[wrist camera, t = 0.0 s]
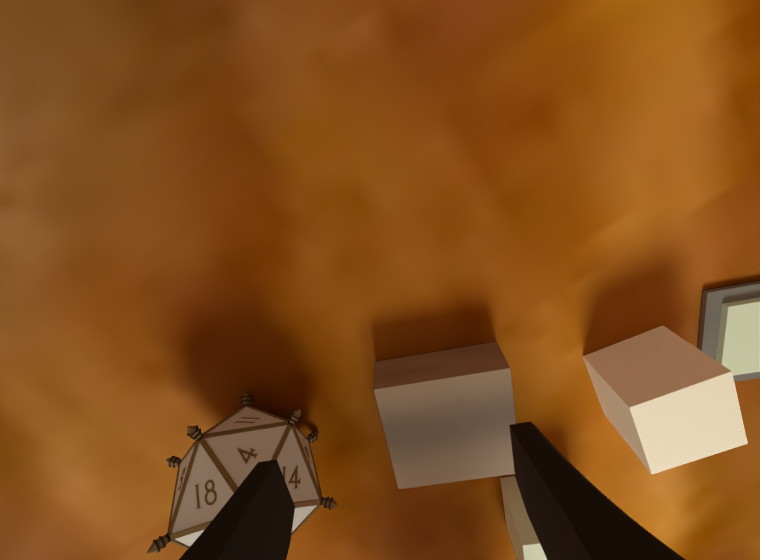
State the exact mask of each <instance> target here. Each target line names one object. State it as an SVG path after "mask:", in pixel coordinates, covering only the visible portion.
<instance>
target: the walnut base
mask: <svg viewBox="0 0 760 560" xmlns="http://www.w3.org/2000/svg"><path fill="white" fill-rule="evenodd" d="M374 393H375V397H376V401H377V405H378V409H379V413H380V417H381V421H382V425H383V429H384V433H385V437H386V441H387V445H388V449H389V453H390V457H391V461H392V465H393V469H394V473H395V477H396V481H397V485H398V489H406V488H413V487H421V486H428V485H436V484H443V483H451V482H458V481H466V480H473V479H481V478H488V477H496V476H503V475H511V474H515V471H514V462H513V453H512V444H511V436H510V427H509V425H512V424H516V419H515V409H514V399H513V389H512V379H511V369H510V367H509V365H508V363H507V361H506V359H505V357H504V355H503V354H502V352H501V350H500V348H499V346H498V344H497V342H491V343H485V344H479V345H473V346H467V347H461V348H455V349H449V350H443V351H437V352H431V353H425V354H419V355H413V356H407V357H401V358H395V359H389V360H383V361H377V362H375V376H374Z"/></svg>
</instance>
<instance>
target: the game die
mask: <svg viewBox="0 0 760 560" xmlns="http://www.w3.org/2000/svg"><path fill="white" fill-rule="evenodd" d="M250 398H251V396H249V395H248V394H247V392H245V393H244V395H243V396H242V397H241V399H242V401H241V403H242V404H243V407H242V408H240V409H239V410H237V411H236V412H234V413H233V414H231V415H230V416H228V417H227V418H225V419H224V420H222V421H221V422H219V423H218V424H216V425H215V426H213V427H212V428H210V429H209V430H207V431H206V432H204V433H203V434H202V433H201V429H199V428H198V425H197V426H187V430H188V433H187V435H188V436H190V437H191V438H192V439H196V441H195V442H194V443H193V445H192V446H191V448H190V449H189V450H188V452H187V453H186V455H185V456H184V457H183V459H182V460H180V458H178V457H175V456H172V457H171V458H168V459H166V460H167V462H168V463H169V467H171V466H173V468H174V467H177V466H178V473H177V479H176V485H175V491H174V497H173V503H172V509H171V515H170V520H169V526H168V532H167V534H166V535H165V536H162V537H161V536H159V538H158V539H157V540H153V543H152V545H151V547H150V548H149V550H148V552H147V553H152V552H159V551H160V549H162V548H164V547H166V544H167V543H168V542H170V541H171V542H173V543H175V544H177V545H179V546H181V547H184V548H186V549H189V547H190V546H191V545H192V544H193V543H194V542H195V540H196V539H197V538H198V537H199V536H200V535H201V533H202V532H203V531H204V530H205V529H206V528H207V526H208V525H209V524H210V523H211V521H212V520H213V519H214V518H215V516H216V515H217V514H218V513H219V511H220V510H221V509H222V508H223V506H224V505H225V504H226V503H227V501H228V500H229V499H230V498H231V496H232V495H233V494H234V492H235V491H236V490H237V489H238V487H239V486H240V485H241V483H242V482H243V481H244V479H245V478H246V477H247V476H248V474H249V473H250V472H251V471H252V469H253V468H254V467H255V466H256V464H257V463H258V462H262V461H269V460H276V459H277V461H278V464H279V466H280V469H281V472H282V474H283V477H284V479H285V482H286V484H287V487H288V490H289V492H290V495H291V497H292V500H293V503H294V505H295V511H294V519H293V527H292V533H291V537H292V536H293V534H294V533H295V532H296V531H297V530H298V529H299V528H300V527H301V526H302V525H303V524H304V522H305V521H306V520H307V519H308V518H309V517H310V516H311V515H312V514H313V513H314V512H315V510H316V509H317V508H318V507H319V506H320V505H323V506H324V508H329V509H330V510H331V508H334V507H337V506H338V505H337V503H336V502H335V501H334V499H333V497H332V498H329V497H327V498H323V497H322V493H321V489H320V485H319V480H318V476H317V472H316V468H315V463H314V459H313V455H312V450H311V446H310V442H314V441H315V440H317V436H318V433H316V432H312V433H311V434H310V435H308V437H306V436H305V435H304V434H303V433H302V432H301V431H300V430H299V429H298V428H297V427H296V426H295V425H294V423H296V422H297V421H298V420H299V419H300V418H301V409H300V410H297V411H292V414H291V415H289V417H290V418H289V420H287V419H285V418H282V417H279V416H276V415H273V414H271V413H268V412H265V411H262V410H260V409H257V408H254V407H251V406H249V403H250V401H251V400H250Z"/></svg>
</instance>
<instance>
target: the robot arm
mask: <svg viewBox="0 0 760 560" xmlns="http://www.w3.org/2000/svg"><path fill="white" fill-rule="evenodd" d="M509 427H510V436H511V444H512V453H513V462H514V471H515V478H516V481H517V484H518V487H519V490H520V494H521V497H522V500H523V503H524V506H525V509H526V512H527V514H528V517H529V519H530V521H531V524H532V526H533V528H534V531H535V533H536V535H537V538H538V540H539V542H540V545H541V547H542V549H543V551H544V554H545V556H546V558H547V560H685V559H684V558H683V557H681V556H680V555H679V554H677V553H676V552H675V551H673V550H672V549H670V548H669V547H668V546H666V545H665V544H664V543H662V542H661V541H660V540H658V539H657V538H656V537H655V536H653V535H652V534H651V533H649V532H648V531H647V530H645V529H644V528H643V527H642V526H640V525H639V524H638V523H637V522H635V521H634V520H633V519H632V518H631V517H629V516H628V515H627V514H626V513H625V512H623V511H622V510H621V509H620V508H619V507H617V506H616V505H615V504H614V503H613V502H612V501H611V500H609V499H608V498H607V497H606V496H605V495H604V494H603V493H601V492H600V491H599V490H598V489H597V488H596V487H595V486H594V485H593V484H592V483H590V482H589V481H588V480H587V479H586V478H585V477H584V476H583V475H582V474H581V473H580V472H579V471H578V470H577V469H576V468H575V467H574V466H573V465H572V464H571V463H570V462H569V461H568V460H567V459H566V458H565V457H564V456H563V455H562V454H561V453H560V452H559V451H558V450H557V449H556V448H555V447H554V446H553V445H552V444H551V443H550V442H549V441H548V439H547V438H546V437H545V436H544V435H543V434H542V433H541V432H540V431H539V429H538V428H537V427H536V426H535V425H534V424H533V423H531V422H525V423H519V424H512V425H509ZM294 511H295V505H294V503H293V500H292V497H291V495H290V492H289V490H288V487H287V484H286V482H285V479H284V477H283V474H282V472H281V469H280V466H279V464H278V461H277V459H276V460H269V461H262V462H258V463H257V464H256V466H255V467H254V468H253V469H252V471H251V472H250V473H249V474H248V476H247V477H246V478H245V479H244V481H243V482H242V483H241V485H240V486H239V487H238V489H237V490H236V491H235V492H234V494H233V495H232V496H231V498H230V499H229V500H228V501H227V503H226V504H225V505H224V506H223V508H222V509H221V510H220V511H219V513H218V514H217V515H216V516H215V518H214V519H213V520H212V521H211V523H210V524H209V525H208V526H207V528H206V529H205V530H204V531H203V532H202V533H201V535H200V536H199V537H198V538H197V539H196V540H195V542H194V543H193V544H192V545H191V546H190V547H189V549H188V550H187V551H186V552H185V553H184V554H183V556H182V557H181V558H180V559H179V560H286V557H287V554H288V549H289V545H290V540H291V533H292V527H293V519H294Z"/></svg>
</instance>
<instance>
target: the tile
mask: <svg viewBox="0 0 760 560" xmlns="http://www.w3.org/2000/svg"><path fill="white" fill-rule="evenodd" d="M698 349H699V350H701V351H702V352H704V353H705V354H707V355H708V356H710V357H711V358H713V359H714V360H716V361H717V362H719V363H720V364H722V365H723V366H725V367H726V368H728V369H729V370H731V371H732V374H733V379H734V382H737V381H744V380H750V379H757V378H760V281H756V282H750V283H744V284H738V285H732V286H727V287H721V288H715V289H709V290H703V295H702V306H701V317H700V328H699V338H698Z"/></svg>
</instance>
